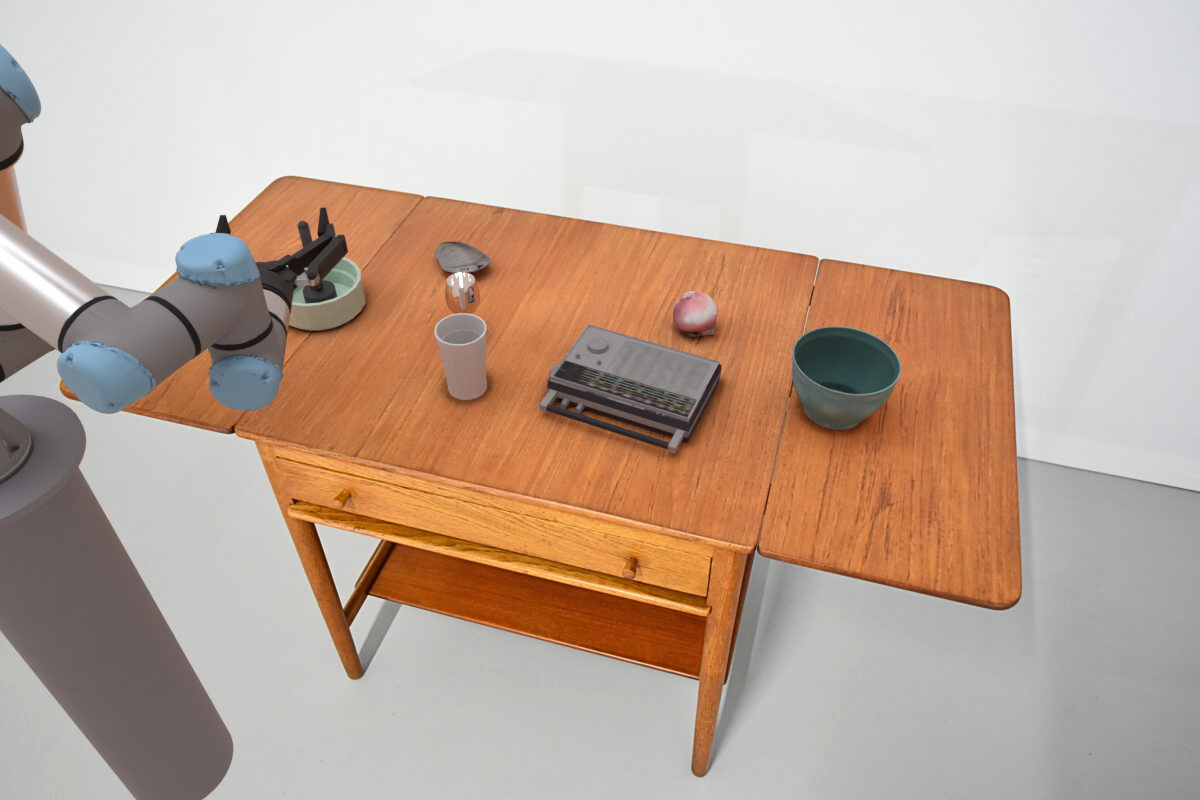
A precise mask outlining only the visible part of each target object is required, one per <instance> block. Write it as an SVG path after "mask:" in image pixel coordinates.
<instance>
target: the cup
mask: <svg viewBox="0 0 1200 800" xmlns="http://www.w3.org/2000/svg"><path fill="white" fill-rule="evenodd" d="M487 328H488V327H487V323H486V322H485V320H484V319H483V318H482V317H480V316H478V315H476V314H473V313H471V314H468V313H458V314H455V313H453V314H449V315H447V316H444V317H443V318H442V319H440V320H439V321H438V322H437V323H436V325H435V327H434V330H433V333H434V337H435V339H436V345H437V348H438V351H439V356H440V359H441V363H442V368H443V371H444V376H445V380H446V385H447V391H448V393H449V395H450V396H452V397H453V398H454V399H456V400H461V401H471V400H474V399H478V398H480V397H481V396H483V395H484V394H485V392H487V389H488V379H487V330H488V329H487Z"/></svg>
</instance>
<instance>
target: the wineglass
mask: <svg viewBox="0 0 1200 800" xmlns="http://www.w3.org/2000/svg"><path fill="white" fill-rule="evenodd" d="M444 299H445V304H446V306H447V308H448V309H449V311H450V312H452V313H453V314H458V313H468V314H473V313H474V312H475V311H477V310H478V308H479V306H480V303H481V293H480V289H479V285H478V283H477V280H476V277H475V276H474V275H473V274H471V273H470V272H469V273H465V272H459V273H452V274H450V275H449V276H448V277H447V279H446V282H445V288H444Z"/></svg>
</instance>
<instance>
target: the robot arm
mask: <svg viewBox="0 0 1200 800" xmlns="http://www.w3.org/2000/svg"><path fill="white" fill-rule="evenodd" d="M41 112H42V103H41V99H40V96H39V93H38V92H37V89H36V87H35V85H34V84H33V82H32V80H31V78H30V77H29V75H28V74H27V73H26V71H25V70H24V69H23V67H22V66H21V65H20V63H19V62H18V61H17V59H16V58H15V57H14V56H13V55H12V54H11V53H10V52H9V51H8V50H7V49H6V48H5V47H4V46H3V45H2V44H0V384H1V383H3V382H4V381H6V380H7V379H9V378H10V377H12V376H13V375H15V374H17V373H18V372H19V371H21V370H23V369H24V368H26V367H28V366H29V365H31V364H33V363H34V362H36V361H37V360H39V359H40V358H42V357H44V356H46V355H48V353H50V352H53V351H55V350H56V351H58V352H59V353H61V354H60V355H59V356H58V358H57V360H56V369H57V373H58V375H59V377H60V378H61V379H60V380H61V381H62V383H63V384H64V385H65V386H66V388H67V389H68V390H69V391H70V392H71V393H73V394H74V395H75V396H76V397H77V399H78V400H79V401H80V402H81V403H82V404H84V405H85V406H86V407H88V408H89V409H91V410H93V411H95V412H98V413H100V414H105V415H111V414H117V413H120V412H121V411H123V410H124V409H127V408H129V406H131V405H133V404H134V403H136V402H137V401H139V400H141V399H142V398H144V397H146V396H148V395H150V394H151V393H152V392H153V391H154V390H155V388H156V387H158V386H159V385H160V384H162V383H163V382H164V381H166V380H167V379H168V378H169V377H171V376H172V375H173V374H175V373H176V372H177V371H178V370H180V369H181V368H183V367H184V366H185V365H186V364H188V363H189V362H190V361H192V360H194V359H195V358H197V357H198V356H199V355H201V354H202V353H204V352H205V351H206V350H208V354H209V355H210V358H211V365H210V367H209V370H208V376H209V377H208V378H209V380H208V386H209V391H210V393H211V395H212V396H213V398H214V400H216V401H217V402H218V403H220V404H221V405H223V406H224V407H226V408H229V409H231V410H235V411H242V412H250V411H257V410H262V409H264V408H266V407H268V406H269V405H270V404H272V403H273V402H274V401H275V399H277V396H278V394H279V390H280V387H281V382H282V381H283V378H284V372H283V369H284V364H285V363H284V362H285V355H286V350H287V349H286V348H287V339H288V334H289V326H290V325H289V320H290V314H291V307H292V300H293V292H294V290H295V289H296V288H297V287H298V286H308V285H309V286H310V289H311V290H312V291H316V290H318V289H319V288H320V285H321V282H322V280H323V279H324V278H325V277H326V276H327V274H328V273H329V272H330V271H331V270H332V269H333V268H334V267H335V266H336V265H337V264H338V263H339V261H340V260H341V259H342V258H343V257H346V255H347V254H348V253H349V249H348V244H347V240H346V236H345V235H344V234H337V233H336V231H335V230H336V229H335V226H334V225H335V224H333V223H331V222H330V220H329V216H328V211H327V207H320V208H319V215H318V223H317V224H318V225H317V231H316V233H317V238H316V239H315V240H312V241H313V242H311V243H310V244H308V245H307V246H305V247H304V248H303V247H302V248H301V249H299V250H297V251H296V252H294V253H293V254H289V253H288V254H285V255H284V256H282V257H281V258H280V259H278V260H268V261H255V259H254V258H255V257H254V255H253V254H252V252H251V250H250V247H249V245H248V244H247V243H246V242H245V241H244V240H243V239H242V238H240V237H238V236H236V235H232V234H231V233H232V230H231V228H230V227H231V226H230V224H229V221H228V216H227V215H226V214H220V215H219V217H218V220H217V225H216V229H215V231H214V232H210V233H205V234H201V235H197V236H195V237H193V238H191V239H189V240H187V241H186V242H184V243H183V244H182V245H181V246H180V247H179V248H180V249H179V250H178V251H177V252H176V254H175V259H174V260H175V265H176V268H175V271H176V272H177V275H178V277H177V278H175V279H173V280H172V281H170V282H169V283H168V284H166V285H165V286H164V285H163V287H161V288H159V290H157V291H155V292H154V293H152V294H151V295H149V296H147V297H146V298H144V299H143V300H141V301H140V302H139V303H136V304H135V305H132V307H131V306H128V305H127V304H125V303H124V302H123V301H121V300H119V299H118V298H116V297H115V296H113V295H112V294H111V293H109V292H108V291H106V290H105V289H104V288H102V287H101V286H99V285H98V284H97V283H96V282H94V281H93V280H92V279H90V278H89V277H87V276H86V275H85V274H84V273H82V272H80V271H79V270H78V269H76V268H75V267H73V266H72V265H71V264H69V263H68V262H67V261H65V260H64V259H63V258H61V257H60V256H59V255H57V254H56V253H54V252H53V251H52V250H50V249H49V248H48V247H47V246H45V245H43V243H40V242H39V241H38V240H37V239H36V238H34V237H32V236H31V235H30V234H29V232H28V228H27V223H26V222H27V221H26V217H25V213H24V208H23V203H22V198H21V194H20V188H19V184H18V179H17V175H16V169H15V165H17V163H18V162H19V161H20V160H21V158H22V156H23V154H24V151H25V142H24V137H23V131H22V127H23V125H25V124H31V123H33V122H34V120H35V119H37V118H39V116H40V115H41ZM287 265H288V267H287ZM302 273H303V274H302ZM33 446H34V444H33V439H32V436H31V435H30V433H29V431H28V430H27V428H26V427H25V426H24V425H23V424H22V423H21V422H20V421H19V420H17V419H16V418H15V417H13V416H12V415H10V414H9V413H8V412H6V411H5V410H4V409H2V408H1V407H0V484H2V483H3V482H5V481H7V480H8V479H10V478H11V477H12V476H14V475H15V474H16V473H17V472H18V471H19V470H20V469H21V468H22V467H23V466H24V465H25V464H26V463H27V461H28V460H29V458H30V456H31V454H32V451H33Z"/></svg>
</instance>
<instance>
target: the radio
mask: <svg viewBox="0 0 1200 800" xmlns="http://www.w3.org/2000/svg"><path fill="white" fill-rule="evenodd" d="M721 375H722V364H721V363H720V361H719V360H715V359H712V358H709V357H705V356H701V355H697V354H694V353H691V352H687V351H684V350H680V349H677V348H673V347H669V346H666V345H663V344H659V343H656V342H652V341H649V340H646V339H641V338H638V337H635V336H631V335H627V334H624V333H621V332H617V331H613V330H611V329H606V328H603V327H599V326H596V325H593V324H587V325H586V326H585V328H584V329H583V330H582V332H581V333H580V334H579V336H578V338H577V339H576V340H575V341H574V343H573V344H572V345H571V347H570V348H569V349H568V350H567V352H566V354H565V355H564V356H563V358H562V359H561V361H560V362H559V363H558V364H556V363H555V364H554V365H553V366H552V367H551V369H550V371H549V376H548V379H547V383H546V395H545V396H544V397H543V399H542V400H541V401H540V403H539V404H538V406H539V407H538V408H539V411H541V412H543V413H548V412H549V413H552V414H555V415H558V416H561V417H565V418H567V419H570V420H574V421H576V422H580V423H583V424H586V425H589V426H591V427H595V428H599V429H601V430H604V431H607V432H611V433H614V434H617V435H620V436H623V437H627V438H630V439H633V440H636V441H640V442H643V443H646V444H648V445H650V446H651V445H652V446H655V447H658V448H660V449H664V450H667V452H669V453H672V454H676V453H677V451H678V449H679V447H680V445H681V444H682V442H684V443H689V441H690V439H691V438H692V435H693V434H694V432H695V430H696V428H697V426H698V424H699V422H700V420H701V419H702V417H703V414H704V412H705V411H706V409H707V407H708V405H709V404H710V401H711V399H712V398H713V395H714V394H715V391H716V389H717V388H718V386H719V384H720V380H721V377H722V376H721ZM555 401H556V402H559V406H556V405H553V404H554V402H555ZM568 406H570V407H574V411H572V410H569V409H566V408H567V407H568ZM583 410H584V411H587V412H590V413H594V414H596V415H599V416H603V417H606V418H609V419H612V420H615V421H619V422H621V423H625V424H628V425H632V426H634V427H637V428H641V429H644V430H647V431H651V432H653V433H656V434H659V435H662V436H666V437H669V438H671V439H670V441H666V440H663V439H660V438H657V437H654V436H650V435H648V434H645V433H641V432H638V431H634V430H632V429H630V428H629V429H628V428H625V427H623V426H619V425H616V424H613V423H610V422H606V421H603V420H601V419H597V418H594V417H591V416H588V415H584V414H581V413H582V411H583Z"/></svg>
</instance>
